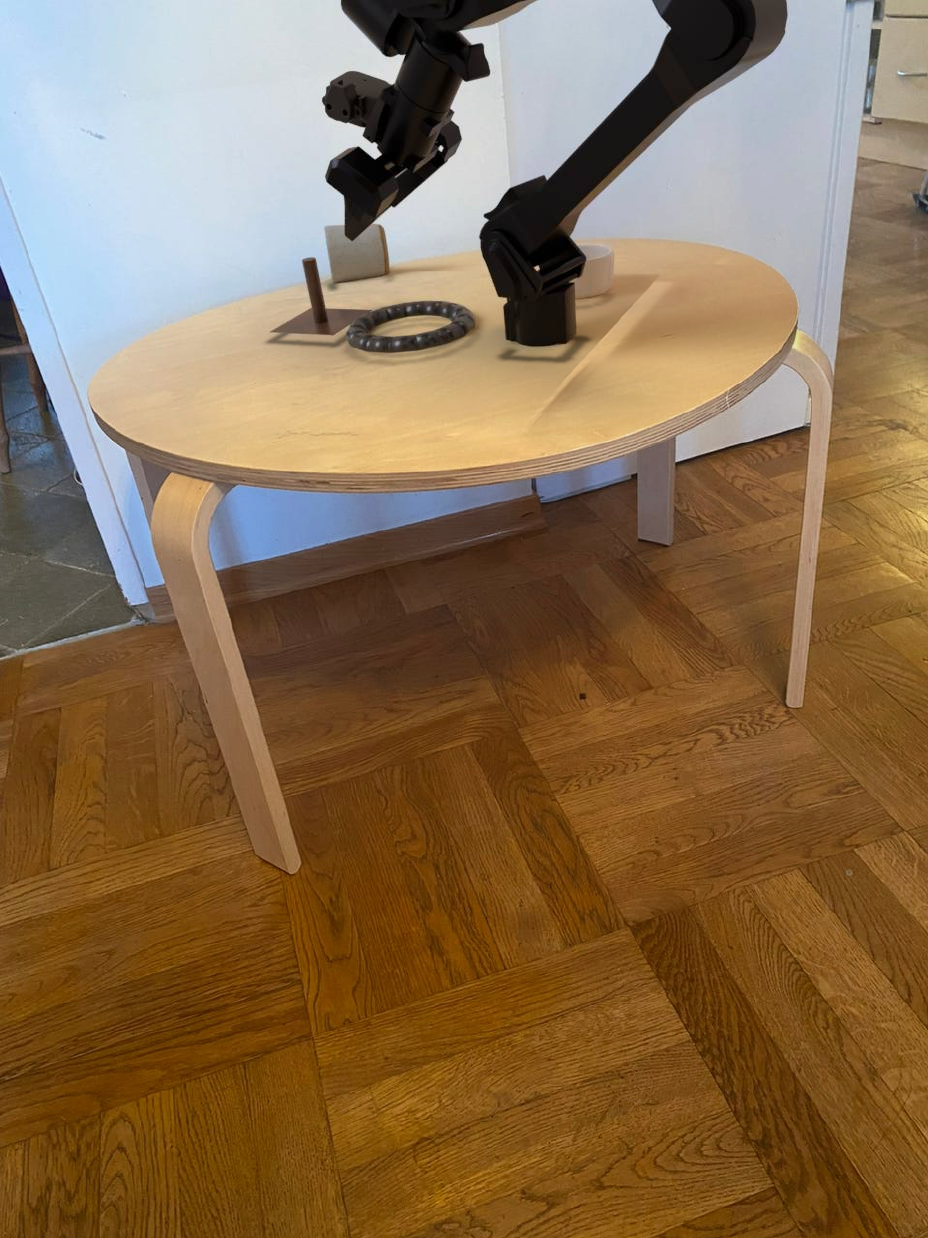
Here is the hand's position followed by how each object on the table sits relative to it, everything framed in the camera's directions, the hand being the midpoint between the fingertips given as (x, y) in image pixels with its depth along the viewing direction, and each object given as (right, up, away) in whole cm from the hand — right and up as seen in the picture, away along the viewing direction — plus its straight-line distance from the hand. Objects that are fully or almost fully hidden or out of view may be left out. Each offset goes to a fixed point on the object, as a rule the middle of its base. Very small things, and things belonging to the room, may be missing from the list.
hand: (370, 220), depth 96 cm
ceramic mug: (-4, +3, +25) cm, 25 cm away
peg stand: (-6, -10, +8) cm, 14 cm away
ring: (+4, -12, +1) cm, 13 cm away
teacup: (+24, -6, +8) cm, 26 cm away
